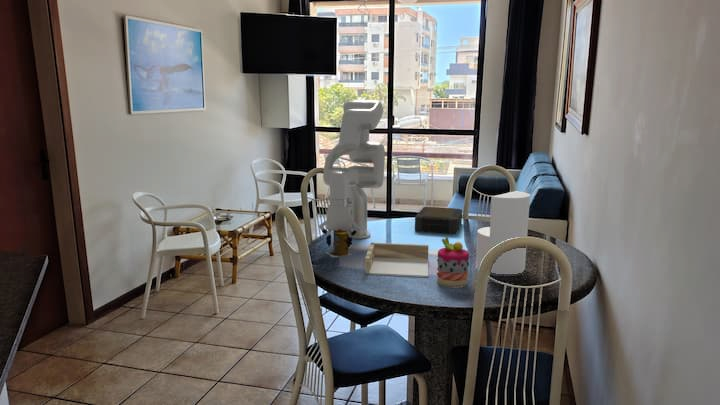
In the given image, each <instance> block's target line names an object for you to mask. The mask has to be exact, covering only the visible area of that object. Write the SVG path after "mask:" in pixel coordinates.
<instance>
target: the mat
mask: <svg viewBox="0 0 720 405" xmlns="http://www.w3.org/2000/svg"><path fill="white" fill-rule="evenodd" d="M368 275H374V276H393V277H395V276H396V277H414V278H415V277H416V278H429V259H428V260H422V259H400V258H378V257H374V260H373V263H372V266H371V269H370V272H369V274H368Z"/></svg>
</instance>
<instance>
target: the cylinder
mask: <svg viewBox="0 0 720 405" xmlns="http://www.w3.org/2000/svg"><path fill="white" fill-rule="evenodd" d="M530 200H531V194H530V193H528V192H524V191H520V190H514V191H510V192H506V193H501V194H496V195H494V196H493V195H492V196H491V201H490V202H491V203H490V204H491V206H490V219H489V220H490V222H489V226H487V227H480V228H479V229H478V230H477V232H476V233H477V234H476V236H477V238H476V253H475V254H476V255H475V270H477V271H478V267H479V265H480V263H481V261H482V259H483V257H484V256H485V254H486V253H487V252H488V251H489V250H490V249H491V248H493V247H494V246H496V245H497V244H499V243H501V242H502V241H505V240H507V239H510V238H515V237H527V238H528V232H529V231H528V229H529V216H530V206H531V205H530V204H531V201H530ZM526 257H527V247H526V248H516V249H512V250H510V251H507V252H505V253H503V254H502V255H501V256H500V257H498V259H497V260H496V262H495V263H494V264H493V266H492V269H491V272H492V273H496V274H518V273H522V272H523V271H524V270H526V259H527V258H526Z"/></svg>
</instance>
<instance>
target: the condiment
mask: <svg viewBox="0 0 720 405" xmlns="http://www.w3.org/2000/svg"><path fill="white" fill-rule="evenodd" d="M348 237H349V235H348V234H347V232H346V231H343V230H341V229H339V230H338V231H333V250H332V251H327V252H325V253H326V254H327V255H328V256H330V257H332V258H339V257H340V258H341V257H346V256H352V255H353V253H352V252H350V251H349V250H350V247H348Z"/></svg>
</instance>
